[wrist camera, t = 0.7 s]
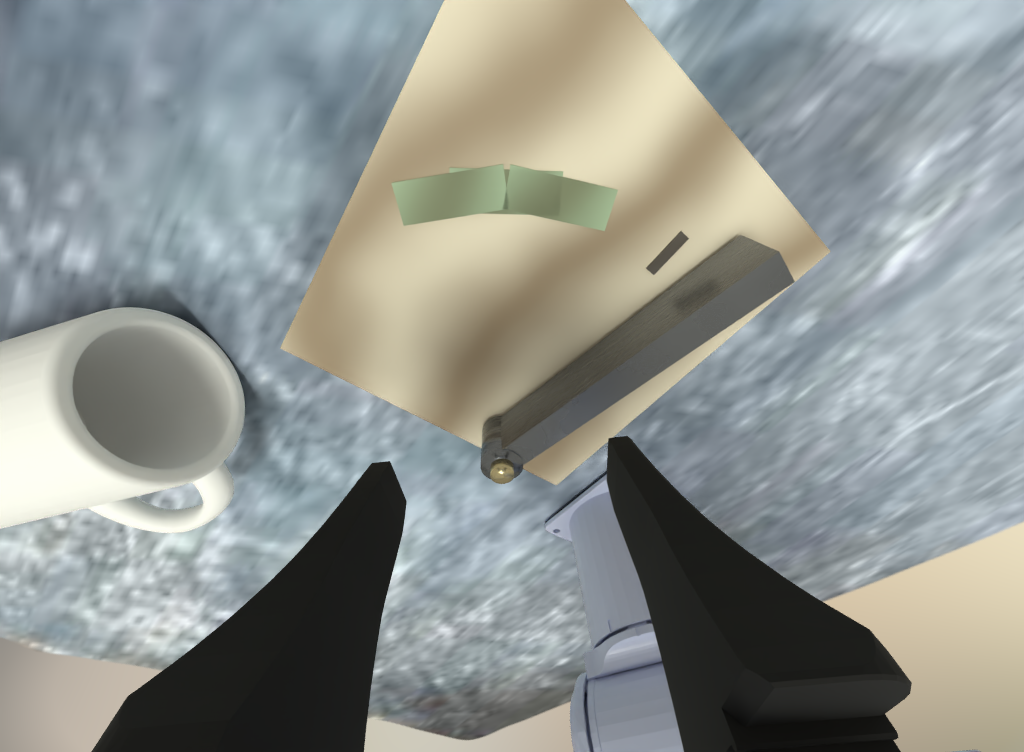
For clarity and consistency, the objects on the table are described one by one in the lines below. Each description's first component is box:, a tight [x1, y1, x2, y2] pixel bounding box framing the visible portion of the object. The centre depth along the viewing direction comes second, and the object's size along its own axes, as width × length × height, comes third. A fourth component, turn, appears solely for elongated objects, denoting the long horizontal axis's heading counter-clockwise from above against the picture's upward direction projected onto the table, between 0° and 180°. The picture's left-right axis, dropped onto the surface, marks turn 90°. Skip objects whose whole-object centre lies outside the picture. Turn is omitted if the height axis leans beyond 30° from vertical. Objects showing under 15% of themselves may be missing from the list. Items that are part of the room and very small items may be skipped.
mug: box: [0, 307, 245, 533], centre depth 18 cm, size 12×10×8 cm
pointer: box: [481, 235, 795, 484], centre depth 18 cm, size 2×16×3 cm, turn 133°
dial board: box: [280, 0, 830, 485], centre depth 18 cm, size 18×19×1 cm
